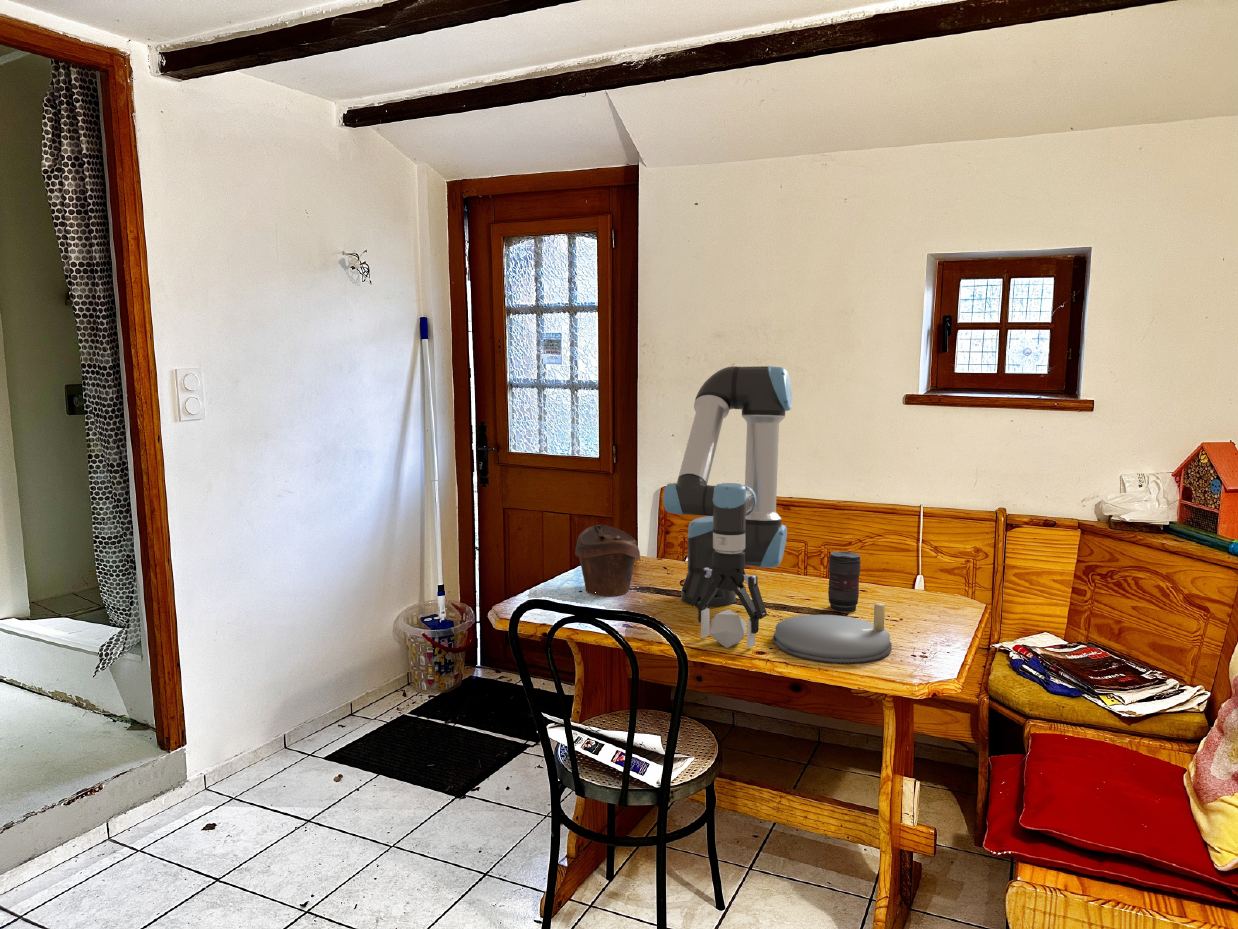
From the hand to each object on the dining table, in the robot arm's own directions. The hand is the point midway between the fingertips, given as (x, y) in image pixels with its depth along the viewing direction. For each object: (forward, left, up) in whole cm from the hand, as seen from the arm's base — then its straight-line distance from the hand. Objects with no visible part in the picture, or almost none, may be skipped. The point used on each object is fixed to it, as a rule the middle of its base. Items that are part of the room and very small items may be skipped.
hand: (727, 641), depth 201 cm
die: (0, 0, -1) cm, 1 cm away
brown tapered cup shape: (-50, +21, -1) cm, 54 cm away
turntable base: (+20, +14, -1) cm, 24 cm away
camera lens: (+12, +43, -1) cm, 45 cm away
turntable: (+20, +14, 0) cm, 24 cm away
